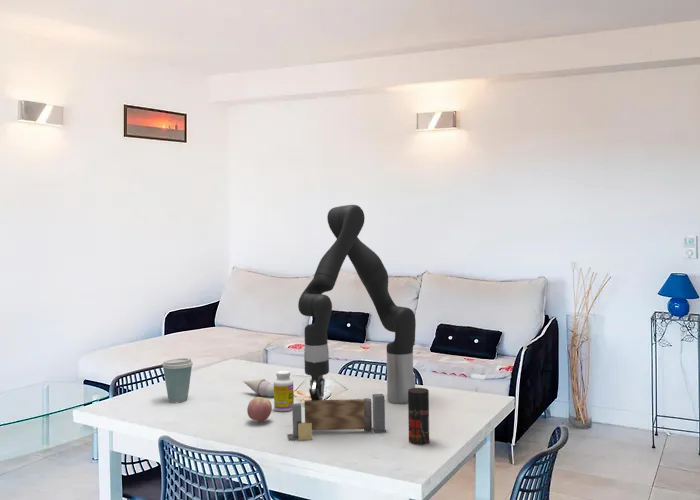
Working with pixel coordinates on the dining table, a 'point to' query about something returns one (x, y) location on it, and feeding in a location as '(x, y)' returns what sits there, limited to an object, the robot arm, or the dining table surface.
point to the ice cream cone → (261, 387)
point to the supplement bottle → (283, 392)
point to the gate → (339, 414)
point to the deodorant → (418, 416)
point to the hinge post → (378, 413)
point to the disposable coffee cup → (177, 378)
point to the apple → (259, 409)
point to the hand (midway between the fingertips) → (318, 413)
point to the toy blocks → (299, 425)
